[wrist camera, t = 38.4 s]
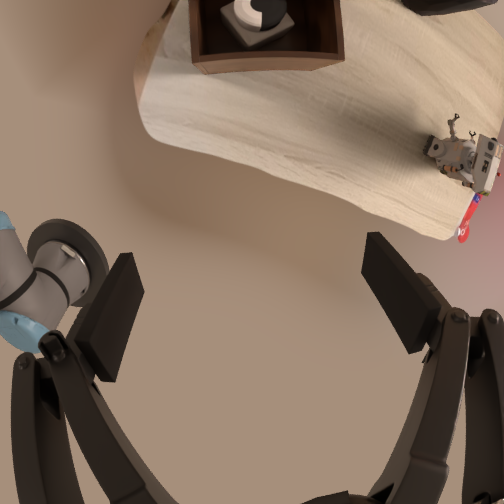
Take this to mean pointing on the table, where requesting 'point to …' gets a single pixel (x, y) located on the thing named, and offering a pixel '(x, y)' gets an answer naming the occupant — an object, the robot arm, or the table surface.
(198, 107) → the table surface
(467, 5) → the portable speaker
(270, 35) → the medicine bottle
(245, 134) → the table surface
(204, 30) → the chest
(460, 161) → the figurine
